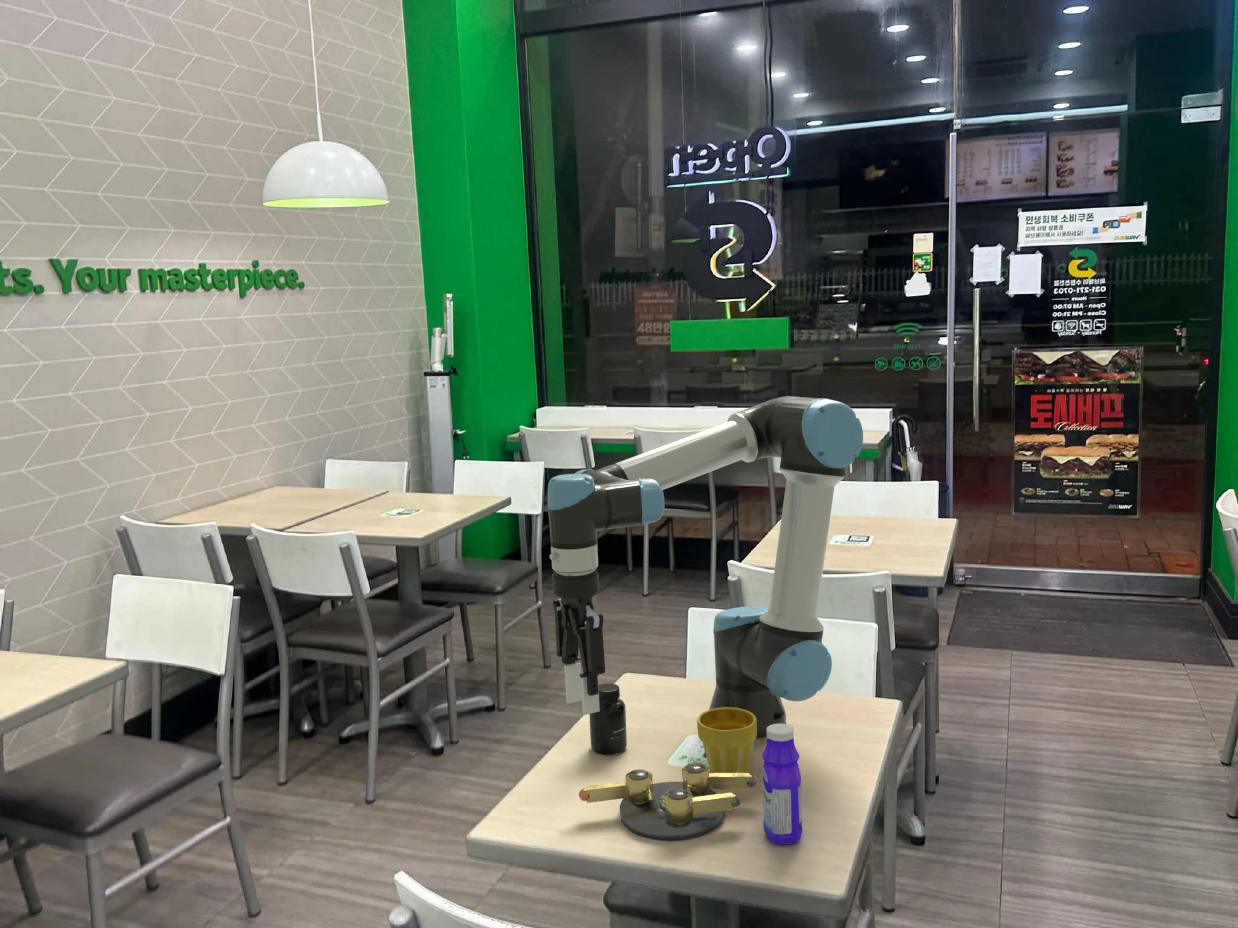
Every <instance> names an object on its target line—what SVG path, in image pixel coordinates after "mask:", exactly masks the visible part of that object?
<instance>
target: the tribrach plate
mask: <svg viewBox="0 0 1238 928" xmlns="http://www.w3.org/2000/svg"><path fill="white" fill-rule="evenodd" d="M675 788H682V789H683V781H663V782H656V783H653V798H652V799H651V800H650V801H648V802H645V803H633V802H630V801H628V800H627V798H623V799H622V800H621V801H620V804H619V818H620V822H621V825H622V826H623V827H624V828H625V829H626V830H627V831H629V832H631V833H632V834H634V835H636V836H639V837H642V838H644V839H648V840H649V839H650V840H654V841H661V842H666V841H667V842H677V841H685V840H693V839H696V838H700V837H703V836H705V835H707V834H710V833H712V832H714V831H715V830H716V829H717V828H719V827H720V826H721V825H722V824H723V822H724V820H725V817H726V816H725V815H726V812H725V811H720V812H713V813H705V814H697V815H693V819H692V820H691V821H689V822H687V823H683V824H675V823H671V822H668V821H667V820H666V819H665V801H664V794H665V793H666V792H667V791H669V790H671V789H675ZM716 794H719V793H718V792H716V790H714V789H710V791H709V792H708V793H707V794H705V795H701V796H708V795H716ZM692 797H700V796H692Z"/></svg>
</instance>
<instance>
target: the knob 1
mask: <svg viewBox="0 0 1238 928" xmlns="http://www.w3.org/2000/svg"><path fill="white" fill-rule="evenodd" d="M624 778H625V781H619V782H611V783H610V782H609V783H602V784H601V783H600V784H594V785H593V784H592V785H585V787H584V788H582V789H580V790H579V793H578V797H579V800H581V801H583V802H586V803H587V804H589V803H590V804H591V803H597V802H606V801H612V800H613V801H614V800H621V799H622V800H623V798H627V800H628V801H630V802H633V803H645V802H648V801H650V800H651V799H652V798H653V784H654V783H653V774H652V772H650V771H648V770H645V769H641V768H640V769H637V768H636V769H633V770H631V771H628V772H627V773H626V774H625V776H624Z"/></svg>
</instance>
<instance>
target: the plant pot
mask: <svg viewBox="0 0 1238 928" xmlns="http://www.w3.org/2000/svg"><path fill="white" fill-rule="evenodd" d="M696 719H697V720H696V724H697V725H696V728H697V735H698V739H699V740H700V741H701V743H702V745H703V748H704V753H705V757H706V760H707V764H708V768H709V773H748V769H749V766H750V765H749V764H750V760H751V759H750V758H751V753H752V749H753V743H754V742H755V740H756V739H757V738H756V737H757V719H756V717H755V715H754V714H753V713H751V712H749V711H747V710H744V709H740V708H732V707H723V708H715V709H711V710H709V709H707V710H705V711H704V712H701V713H700V714H699V715H698V716H697V718H696Z"/></svg>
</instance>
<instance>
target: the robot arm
mask: <svg viewBox="0 0 1238 928" xmlns="http://www.w3.org/2000/svg"><path fill="white" fill-rule="evenodd" d="M863 443H864V431H863V425H862V423H861V420H860V418H859V416H857V414H856V412H855V411H854V410H853V409H852V408H851V407H850V406H849V405H847V404H845V403H843V402H841V401H838V400H833V399H829V398H816V397H804V396H803V397H800V396H793V395H792V396H791V395H786V396H779V397H777V398H772V399H769V400H767V401H765V402H762V403H759V404H756V405H754V406H753V405H752V406H751V407H748V408H745V409H744V410H741V411H738V412H734V413H733V414H731V415H730V416H728V418H727V420H726V422H722V423H721V424H718V425H715V426H713V427H710V428H707V429H704V430H702V431H700V432H697V433H694V434H691V435H688V436H686V437H683V438H680V439H678V440H675V441H672V442H669V443H667V444H664V445H662V446H659V447H656V448H654V449H651V450H648V451H645V452H643V453H640V454H638V455H635V456H632V457H629V458H627V459H624V460H621V461H619V462H618V461H617V462H615V463H614V464H613V463H612V464H610V465H607V466H604V467H602V468H599V469H592V468H589V469H586V468H585V469H581V470H577V471H576V472H575V473H568V474H567V473H566V474H560V475H555V476H553V477H552V478H551V479H549V480H548V483H547V503H546V506H547V510H548V511H547V512H548V523H549V524H548V525H549V536H550V538H549V539H550V554H549V559H550V560H551V568H552V571H553V573H552V574H551V575H552V576H551V577H552V579H551V580H552V589H553V590H552V592H553V594H554V596H556V597H557V599H553V600H552V607H553V610H554V611H553V612H554V619H555V620H554V622H555V643H556V648H555V649H556V656H557V657H558V658H561V662H562V664H564V665H563V666H564V685H565V698H566V699H565V703H567V704H568V705H569V704H572V703H577V702H581V703H582V704H581V705H582V706H581V707H582V715H584V716H586V715H589V714H591V713H595V712H599V711H600V709H599V690H598V685H599V677H598V676H599V675H602V674H605V673H606V665H605V664H606V662H605V650H604V649H605V647H604V633H603V627H604V615H603V614H602V613H599V614H596V612H595V607H594V604H593V597H594V596H595V595H597V594H598V593H599V591H600V578H599V577H600V576H599V571H598V569H597V568H598V567H599V555H598V551H599V550H598V536H597V535H598V533H597V532H599V531H607V530H613V529H621V528H629V527H635V526H641V527H643V526H644V525H648V524H651V523H656V522H658V521H659V520H661V518H662V517H663V515H664V512H665V508H666V507H665V495H664V490H665V489H669V488H671V487H673V486H674V487H675V486H677V485H679V484H682V483H684V482H687V481H690V480H692V479H695V478H698V477H700V476H703V475H705V474H708V473H711V472H713V471H716V470H718V469H721V468H724V467H726V466H729V465H732V464H734V463H737V462H740V461H742V462H745V463H751V462H755V461H757V460H760V459H761V460H762V459H765V458H780V462H779V471H780V472H781V474H782V475H783V476H784V478H785V480H786V481H785V489H784V498H783V504H782V512H781V520H780V524H779V525H780V526H779V534H778V542H777V549H776V555H775V557H776V558H775V565H774V572H773V579H772V584H771V586H772V587H771V593H770V601H769V607H768V606H759V605H758V606H757V605H754V606H753V605H752V606H739V607H733V608H729V609H724V610H721V611H719V612H718V613H716V615H715V616H714V619H713V630H712V633H713V639H714V640H713V641H714V642H713V643H714V645H713V646H714V664H715V667H714V668H715V669H714V670H715V671H714V672H715V688H714V691H713V695H712V698H711V701H710V705H709V708H708V710H711V709H715V708H723V707H732V708H740V709H744V710H747V711H749V712H751V713H753V714H754V715H755V717H756V719H757V737H756V739H760V738H767V727H768V726H770V725H772V724H787V713H786V710H785V707H784V704H783V702H782V701H783V700H782V699H785V700H786V701H790V702H803V701H806V700H809V699H811V698H813V697H815V696H816V695H817V692H819V691H821V690H823V688H824V687H825V686H826V684H827V682H828V681H829V678H830V676H831V673H832V667H833V662H832V661H833V660H832V656H831V654H830V652H829V650H828V648H827V647H826V645H824V644H823V635H824V625H823V624H822V622H821V621H820V620H819V618H818V610H819V602H820V595H821V588H822V587H821V586H822V580H823V579H822V578H823V574H824V573H823V572H824V565H825V558H826V552H827V551H826V550H827V544H828V535H829V529H830V521H831V514H832V507H833V500H834V499H833V498H834V491H835V487H836V485H837V484H839V483H840V482H841V481H843V480H844V479H845V476H846V469H847V467H848V466H849V465H852V464H853V463H854V462H855V459H856V458H858V457H859V455H860V453H861V450H862V448H863ZM580 661H581V662H580Z"/></svg>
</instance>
